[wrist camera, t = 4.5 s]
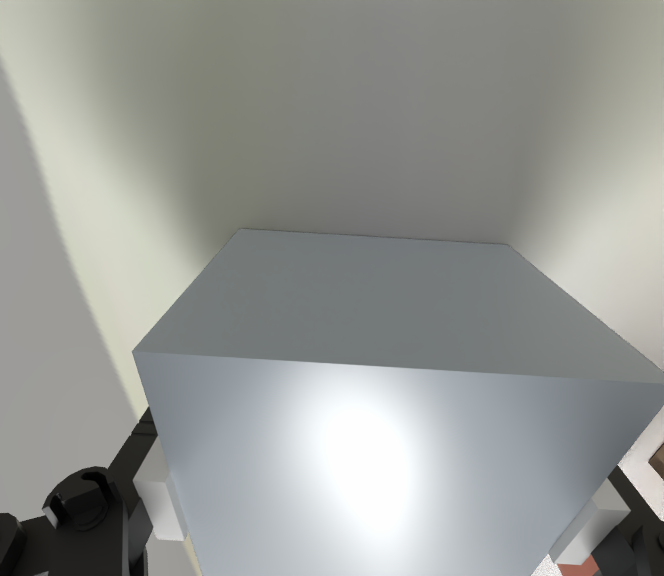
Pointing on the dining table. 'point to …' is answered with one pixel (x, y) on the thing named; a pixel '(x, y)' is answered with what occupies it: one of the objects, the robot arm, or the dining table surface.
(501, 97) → the dining table surface
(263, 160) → the dining table surface
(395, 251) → the cover
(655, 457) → the board
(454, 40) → the dining table surface
